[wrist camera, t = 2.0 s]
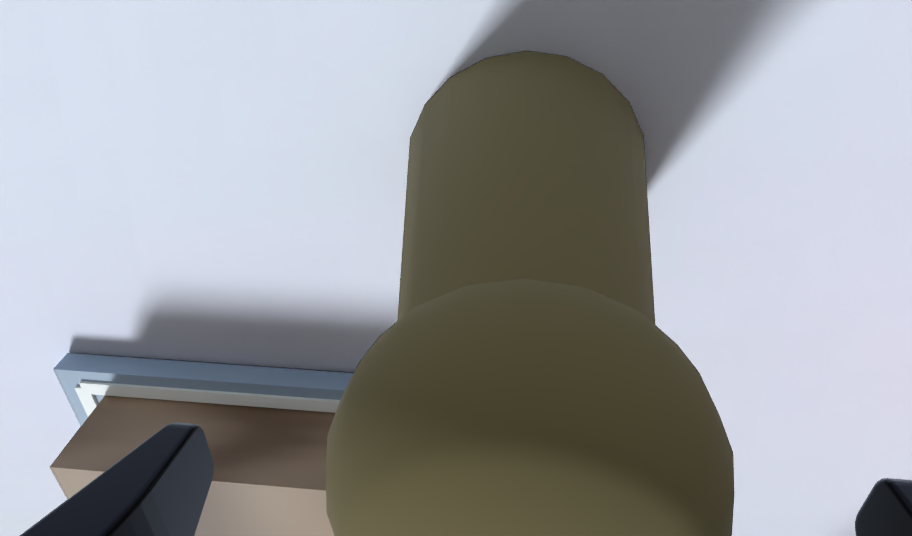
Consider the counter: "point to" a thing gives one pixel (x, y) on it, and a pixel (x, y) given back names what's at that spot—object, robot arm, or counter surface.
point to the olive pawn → (527, 333)
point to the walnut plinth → (220, 461)
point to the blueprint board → (196, 383)
